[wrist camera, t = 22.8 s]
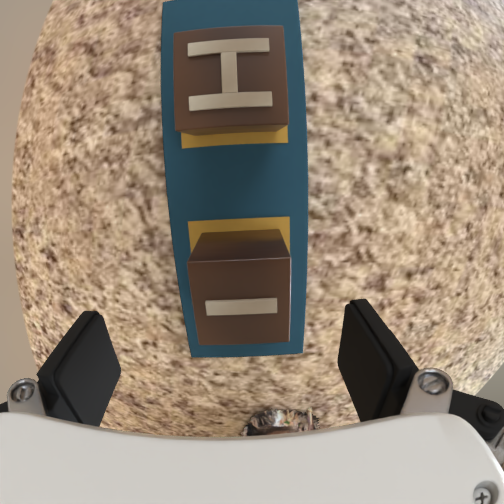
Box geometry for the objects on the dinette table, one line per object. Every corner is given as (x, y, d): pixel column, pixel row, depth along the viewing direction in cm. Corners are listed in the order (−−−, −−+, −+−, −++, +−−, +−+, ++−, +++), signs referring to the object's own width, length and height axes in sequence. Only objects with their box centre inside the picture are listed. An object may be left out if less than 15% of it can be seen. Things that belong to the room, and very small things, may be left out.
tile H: (194, 136, 15) (173, 131, 10) (192, 61, 13) (172, 30, 9) (277, 131, 15) (290, 124, 10) (273, 56, 13) (284, 23, 9)
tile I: (208, 301, 18) (198, 348, 14) (201, 232, 17) (185, 263, 12) (280, 298, 18) (290, 344, 14) (279, 228, 17) (292, 258, 12)
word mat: (192, 354, 20) (191, 358, 20) (164, 4, 12) (162, 1, 12) (301, 349, 20) (302, 354, 20) (295, -4, 12) (296, -8, 12)
